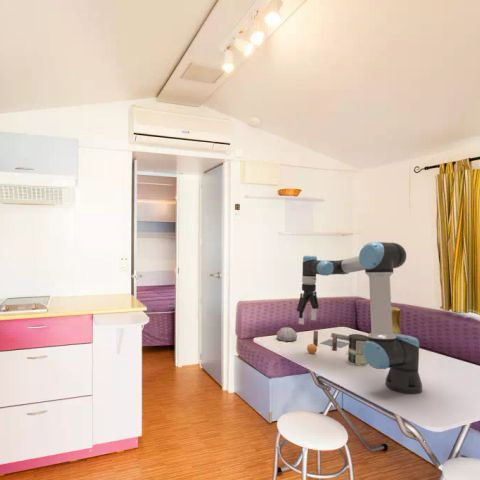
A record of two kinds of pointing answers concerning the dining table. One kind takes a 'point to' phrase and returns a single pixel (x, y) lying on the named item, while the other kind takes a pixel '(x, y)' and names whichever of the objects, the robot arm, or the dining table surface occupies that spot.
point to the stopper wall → (341, 336)
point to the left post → (315, 338)
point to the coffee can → (357, 349)
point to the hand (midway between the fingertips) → (307, 322)
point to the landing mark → (339, 343)
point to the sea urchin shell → (286, 334)
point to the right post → (334, 342)
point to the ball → (311, 348)
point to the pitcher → (396, 320)
